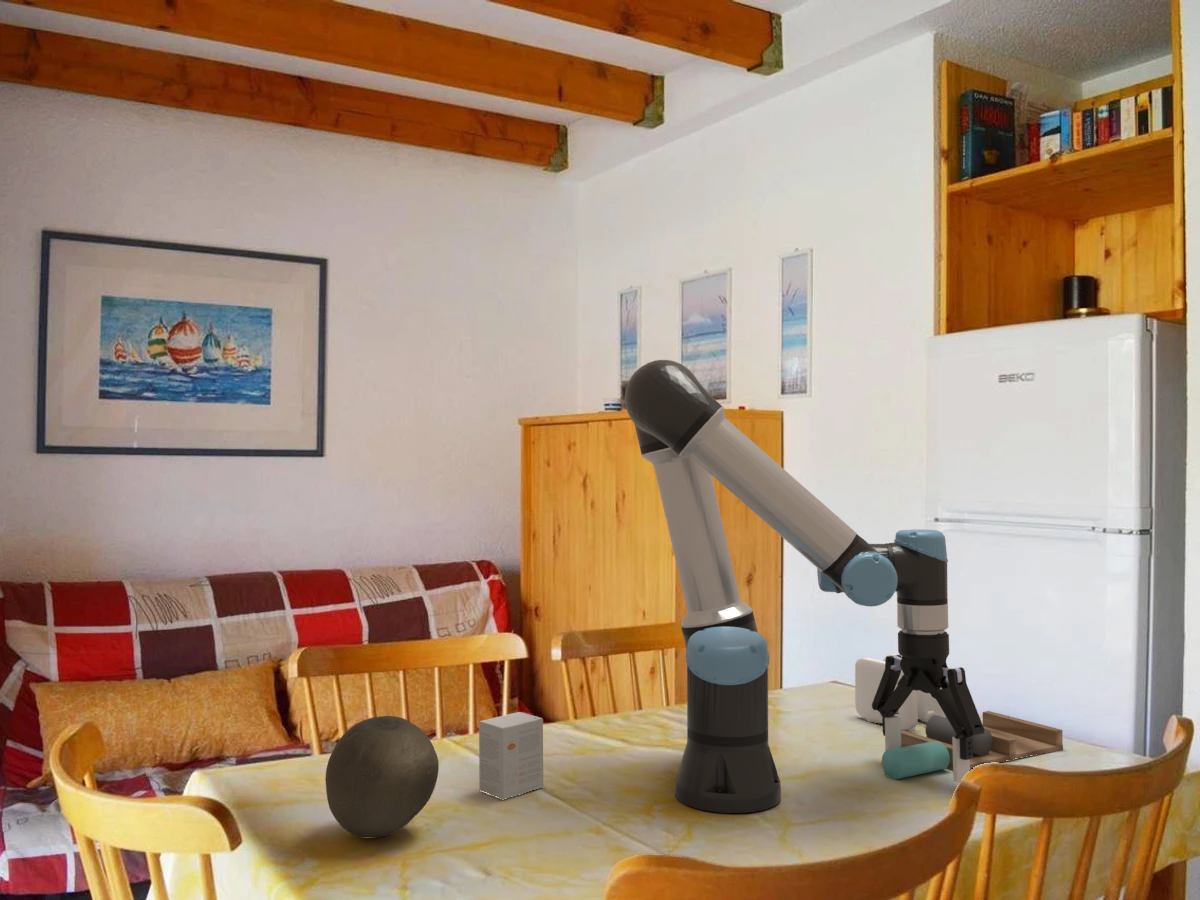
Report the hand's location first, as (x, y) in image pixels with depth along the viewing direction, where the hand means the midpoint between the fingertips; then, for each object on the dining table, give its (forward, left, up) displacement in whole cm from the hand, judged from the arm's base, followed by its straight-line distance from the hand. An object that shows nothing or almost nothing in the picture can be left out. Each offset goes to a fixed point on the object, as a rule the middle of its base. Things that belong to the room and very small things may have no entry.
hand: (926, 769), depth 157 cm
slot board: (+18, +6, -1) cm, 19 cm away
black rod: (+14, +6, 0) cm, 15 cm away
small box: (-58, +25, -1) cm, 64 cm away
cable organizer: (+21, +25, -1) cm, 33 cm away
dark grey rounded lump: (-80, +17, -1) cm, 82 cm away
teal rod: (0, 0, -1) cm, 1 cm away
